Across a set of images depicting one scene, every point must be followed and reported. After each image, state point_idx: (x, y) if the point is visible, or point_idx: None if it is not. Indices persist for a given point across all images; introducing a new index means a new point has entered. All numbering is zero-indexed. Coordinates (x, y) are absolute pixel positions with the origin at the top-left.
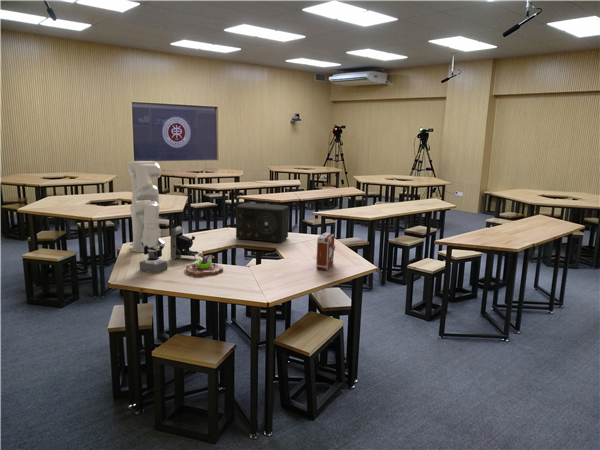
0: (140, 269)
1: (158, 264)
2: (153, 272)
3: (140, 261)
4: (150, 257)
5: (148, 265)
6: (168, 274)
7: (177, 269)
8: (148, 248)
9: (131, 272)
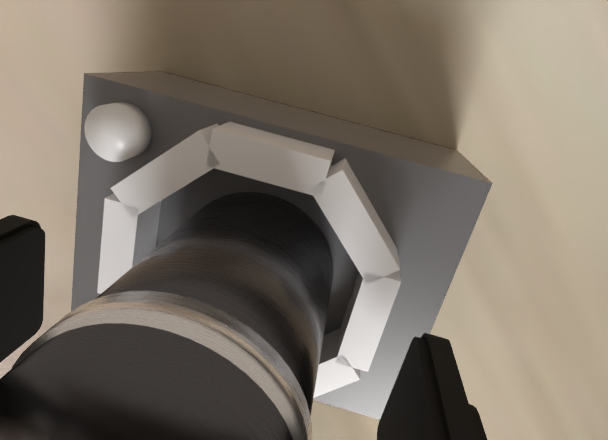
0: (444, 148)
1: (84, 147)
2: (196, 81)
3: (476, 202)
4: (225, 226)
5: (264, 114)
6: (7, 98)
7: (44, 296)
8: (197, 388)
9: (536, 11)
